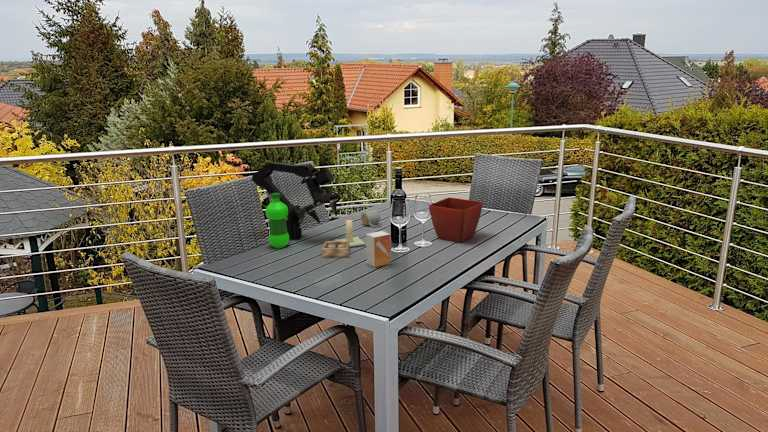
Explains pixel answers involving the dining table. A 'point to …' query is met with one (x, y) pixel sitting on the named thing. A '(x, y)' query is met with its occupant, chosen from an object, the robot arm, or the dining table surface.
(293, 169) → the robot arm
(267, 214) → the plastic bottle
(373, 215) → the ceramic mug
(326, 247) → the oak box
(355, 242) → the beige peg on base
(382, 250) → the small box
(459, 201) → the plant pot
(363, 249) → the dining table surface
